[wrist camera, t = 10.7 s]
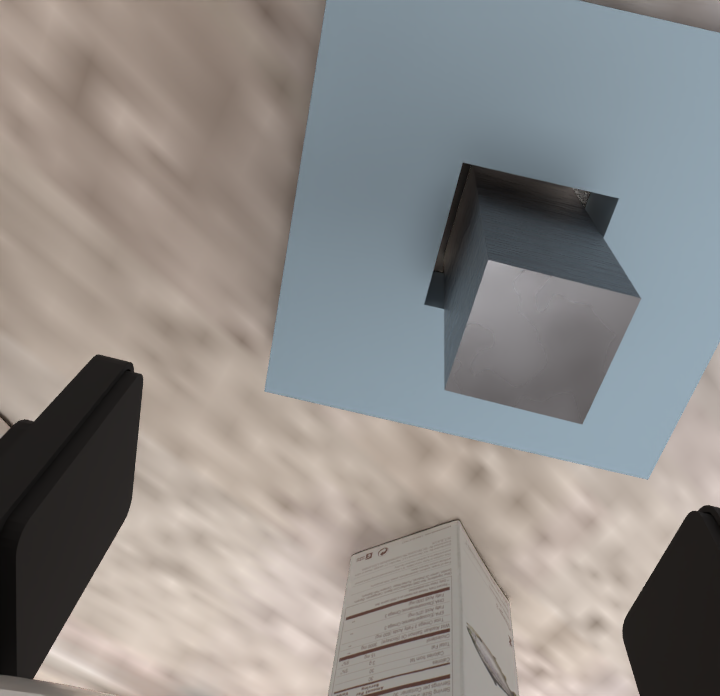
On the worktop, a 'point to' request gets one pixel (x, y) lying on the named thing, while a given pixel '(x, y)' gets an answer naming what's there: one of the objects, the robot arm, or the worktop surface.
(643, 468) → the bore block
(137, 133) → the worktop surface
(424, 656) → the supplement box
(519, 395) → the square peg
